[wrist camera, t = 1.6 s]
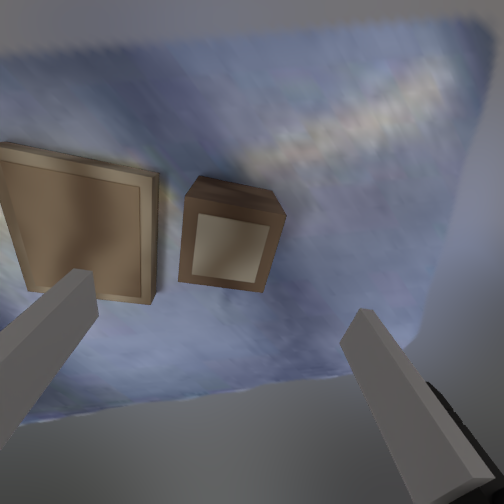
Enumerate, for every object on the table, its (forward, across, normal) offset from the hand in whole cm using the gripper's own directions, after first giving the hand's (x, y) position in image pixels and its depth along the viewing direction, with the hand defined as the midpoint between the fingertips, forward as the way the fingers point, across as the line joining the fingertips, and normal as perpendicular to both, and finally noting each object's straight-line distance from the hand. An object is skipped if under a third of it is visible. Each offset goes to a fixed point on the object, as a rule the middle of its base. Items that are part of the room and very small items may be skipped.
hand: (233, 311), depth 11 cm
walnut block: (+13, 0, 0) cm, 13 cm away
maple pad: (+13, -14, -4) cm, 19 cm away
